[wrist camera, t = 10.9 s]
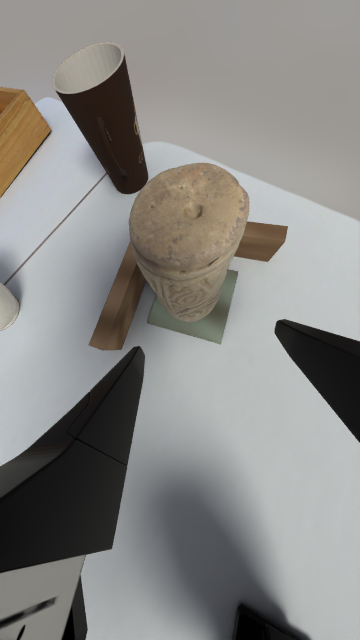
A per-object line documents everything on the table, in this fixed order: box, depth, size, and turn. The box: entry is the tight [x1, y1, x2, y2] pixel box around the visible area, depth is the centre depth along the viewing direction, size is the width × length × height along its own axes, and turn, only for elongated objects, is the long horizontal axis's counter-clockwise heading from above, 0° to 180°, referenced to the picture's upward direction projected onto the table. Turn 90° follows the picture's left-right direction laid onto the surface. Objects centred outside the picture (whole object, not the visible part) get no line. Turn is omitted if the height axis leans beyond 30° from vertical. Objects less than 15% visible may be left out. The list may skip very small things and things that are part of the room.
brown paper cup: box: [52, 42, 148, 194], centre depth 19 cm, size 12×9×10 cm
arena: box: [89, 222, 288, 350], centre depth 16 cm, size 19×18×4 cm
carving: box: [129, 163, 249, 322], centre depth 12 cm, size 6×8×12 cm
